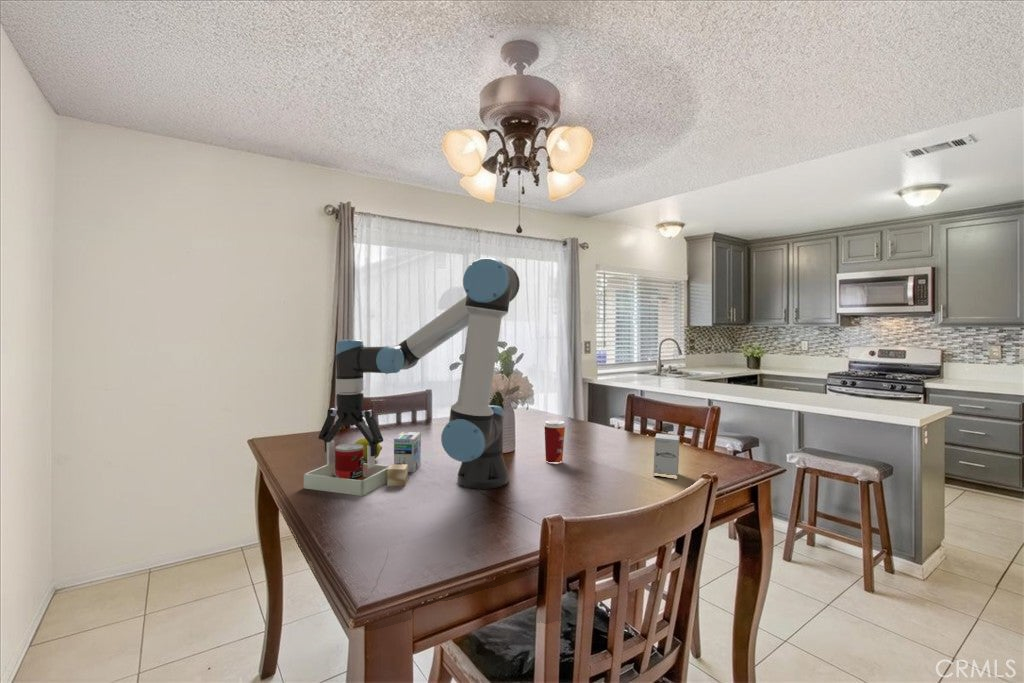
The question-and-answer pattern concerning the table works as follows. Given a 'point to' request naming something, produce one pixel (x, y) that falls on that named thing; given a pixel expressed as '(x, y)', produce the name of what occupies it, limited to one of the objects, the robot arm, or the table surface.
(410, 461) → the light bulb box
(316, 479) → the box
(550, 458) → the paper cup
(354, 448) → the canned food
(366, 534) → the table surface
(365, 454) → the lemon
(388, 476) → the maple block
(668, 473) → the supplement box
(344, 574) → the table surface
